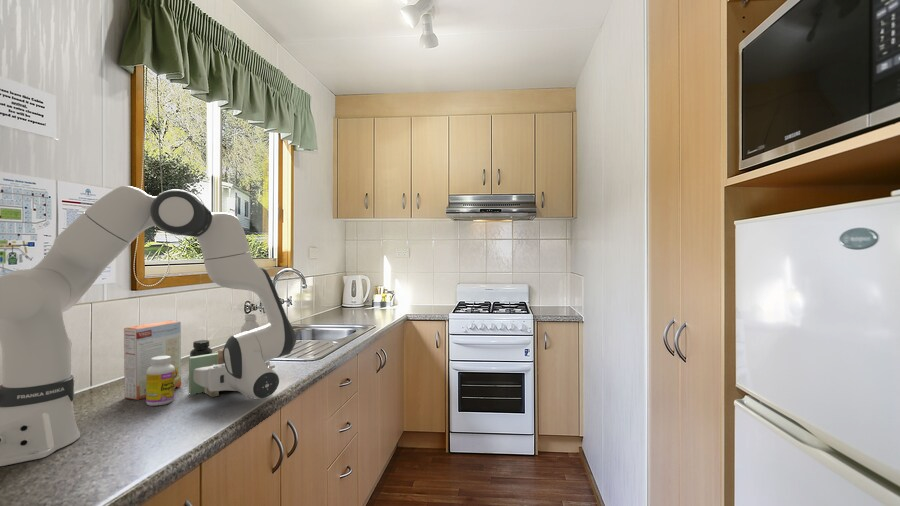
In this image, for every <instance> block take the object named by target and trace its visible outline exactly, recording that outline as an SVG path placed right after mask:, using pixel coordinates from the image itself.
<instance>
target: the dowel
mask: <svg viewBox="0 0 900 506" xmlns="http://www.w3.org/2000/svg"><path fill="white" fill-rule="evenodd" d="M223 349H224V348H221V349H217V353H218V364H224V360H223ZM225 391H227V392H228V390H225ZM225 391H224V392H225Z"/></svg>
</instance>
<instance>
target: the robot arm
mask: <svg viewBox="0 0 900 506" xmlns="http://www.w3.org/2000/svg"><path fill="white" fill-rule="evenodd" d="M152 227H157V228H159V230H161V231H163V232H165V233H168V234H171V235H175V236H185V237H194V238H195V239H196V240H197V241H198V243H199V246H200V250H201V254H202V257H203V258H202V259H203V262H204V267H205V270H206V273H207V276H208V278H209V279H210V280H211V281H212V282H213V284H214V283H215V284H216V285H218V286H220V287H223V288H227V289H232V290H244V291H249V292H252V293H254V294H255V295H257V296H258V298H259V301H260V303H261V305H262V307H263V308H262V309H263V311H264V313H265V315H266V318H267V320H268V322H267V323H266V324H264V325H261V326H260V327H258V328H255V329H252V330H248V331H245V332H242V333H241V332H239V333H237V334H234V335H231V336H229V338H228V339H227V341H226V342H225V345H224V347H223V348H222V349H223V360H224V364H214V365H212V366H207V367H201V368H196V369H195V370H194V373H193V378H194V382H195V383H196V384H198V385H200V386H202V387H207V388H208V390H209V391H211V392H212V391H219V392H225V390H227V391H233V392H239V393H241V394H243V396H246V397H248V398H250V399H254V400H263V399H266V398H269V397H270V396H272V395H273V394H274V393H275V392H276V390H278V389H277V388H278V387H279V384H280V377H279V375H278V373H277V372H276V371H275V370H274V369H275V368H276V365H275V364H273V363H271V362H270V361H271V360H275V359H277V358H281V357H284V356H288V355H290V354H291V352H292V351H293V350H294V347H295V346H296V343H297V336H296V335H297V334H296V332H295V330H294V328H293V325H292V324H291V322H290V321H289V319H288V316H287V314H286V312H285V309H284V307H283V304H282V301H281V298H280V296H279V294H278V292H277V289H276V287H275V285H274V282H273V280H272V277H271V276H270V274H269V272H268V271H267V270H266V269H265V268H263V267H259V265H258V264H257V263H256V262H255V261H254V258H253V256H252V254H251V250H250V245H249V242H248V238H247V236H246V233H245V230H244V227H243V224H242V223H241V221H240V219H239V218H238V217H237V216H236V215H234V214H232V213H229V212H212V211H210V210H209V209H208V208H207V207H206V205H205V204H204V202H203V201H202V199H201V198H200V197H199V196H198V195H197V194H195V193H193V192H191V191H188V190H186V189H185V190H184V189H180V188H179V189H178V188H177V189H175V188H174V189H173V188H172V189H167V190H165V191H162V192H161V193H159V194H158V195H157V196H154V195H153V196H152V195H150V194H148V193H146V192H145V191H144V190H142V189H140V188H138V187H134V186H131V185H121V186H118V187H116V188H115V189H112V190H111V191H109V192H108V193H106V194H105V195H103V196H102V197H101V198H99V199H98V200H97V201H95V202H93V204H92V205H91V204H90V206H89V207H88V208H87V209H85V210H84V211H83V212H82V213H81V214H80V215H79V216H78V217H77V218H76V219H75V220H73V222H71V223H70V224H69V225H68V226H67V227H66V228H65V229H64V230H63V231H62V232H60V234H58V235H57V236H56V237H55V239H54V242H53V245H51V247H50V249H48V252H47V253H46V254H45V256H44V257H43V258H42V259H41V260H40V262H38V264H36V265H35V266H33V267H32V268H30V269H29V268H28V269H17V270H13V271H10V272H7V273H5V274H3V275H1V276H0V346H1V352H2V353H1V354H2V355H1V357H2V360H1V361H2V363H1V366H2V371H1V373H2V374H1V375H2V376H1V377H2V379H1V381H2V382H1V383H2V384H1V385H0V467H4V466H8V465H14V464H18V463H23V462H24V463H25V462H29V461H33V460H38V459H43V458H46V457H48V456H50V455H51V454H53V453H54V452H56V451H57V450H59V449H62V448H64V447H67V446H69V445H70V444H72V443H74V442H76V441H77V440H78V439H79V438H80V436H81V433H80V430H79V428H78V426H77V425H78V424H77V422H76V416H75V412H74V411H75V410H74V403H73V401H74V399H75V398H74V397H75V389H76V388H75V387H76V386H75V385H76V384H75V377H74V375H73V374H72V361H73V360H72V357H73V355H72V353H73V352H72V349H73V347H72V340H71V339H70V337H69V335H68V333H67V330H66V326H65V321H64V317H63V315H64V314H63V313H64V312H66V311H68V310H70V309H71V308H73V307H74V306H75V305H77V303H78V302H79V301H80V300H81V298H83V296H84V295H85V293H87V292H88V290H89V289H90V288H91V287H92V286H93V284H94V283H95V282H96V281H97V279H98V278H99V277H100V275H101V274H102V273H103V272H104V270H106V268H107V267H108V266H109V265H110V264H111V263H112V262H113V261H114V260H116V258H117V257H118V256H119V255H120V254H121V253H122V252H124V251H125V250H126V248H128V247H129V246H130V245H131V244H132V242H134V240H136V239H137V238H138V236H139V235H141V234H142V233H143V232H144V231H146V230H147V229H149V228H152Z"/></svg>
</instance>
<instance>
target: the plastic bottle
mask: <svg viewBox="0 0 900 506" xmlns="http://www.w3.org/2000/svg"><path fill="white" fill-rule="evenodd" d="M258 327H261V326H260V325H259V323H258V322H257V314H253V313H252V314H245V315H244V323H243V324H242V326H241V329H240V333H242V332H245V331H248V330H252V329H255V328H258Z"/></svg>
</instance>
